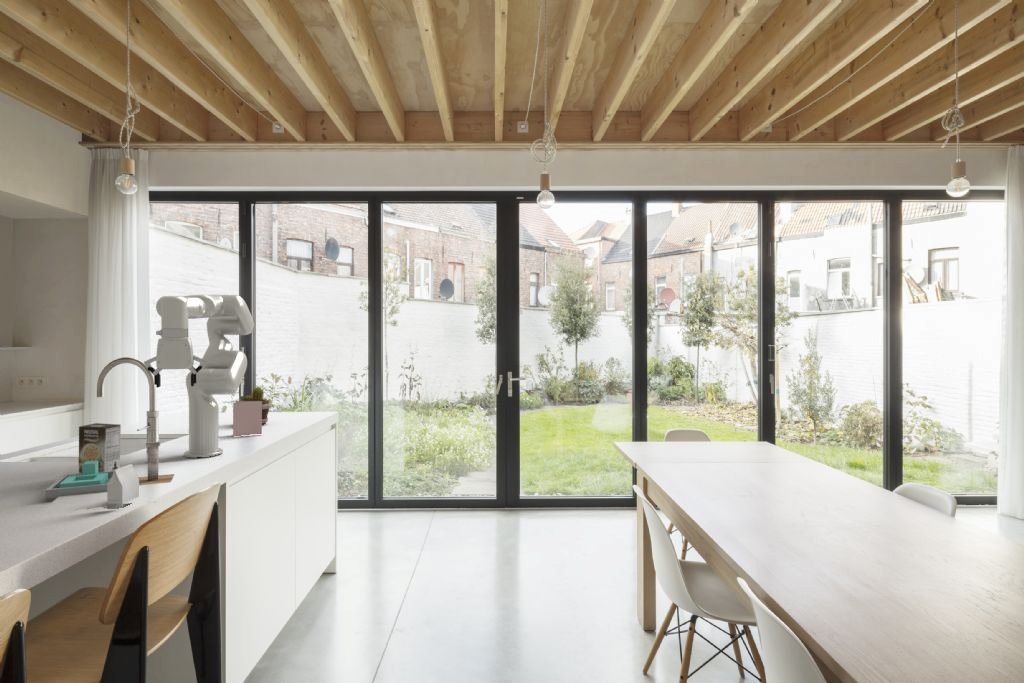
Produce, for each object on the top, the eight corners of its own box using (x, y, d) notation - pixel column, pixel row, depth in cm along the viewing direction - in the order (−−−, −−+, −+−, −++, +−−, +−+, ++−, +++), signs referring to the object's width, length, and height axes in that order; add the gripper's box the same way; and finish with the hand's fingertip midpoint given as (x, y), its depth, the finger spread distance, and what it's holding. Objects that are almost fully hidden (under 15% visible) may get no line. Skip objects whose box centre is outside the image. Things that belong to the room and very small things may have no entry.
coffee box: (76, 478, 167) (77, 426, 167) (94, 473, 174) (94, 422, 174) (104, 479, 166) (104, 427, 166) (121, 474, 173) (121, 423, 173)
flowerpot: (232, 424, 266) (233, 383, 266) (265, 421, 277) (265, 381, 276) (242, 428, 256) (242, 385, 255) (276, 425, 266) (276, 384, 266)
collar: (73, 482, 160) (73, 462, 160) (110, 479, 164) (110, 459, 164) (59, 494, 148) (59, 472, 148) (100, 491, 152) (100, 469, 152)
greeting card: (262, 434, 241) (262, 400, 241) (255, 437, 234) (255, 402, 234) (236, 434, 241) (236, 400, 241) (228, 437, 234) (228, 402, 233)
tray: (64, 485, 160) (64, 474, 160) (122, 480, 166) (122, 470, 166) (45, 501, 145) (45, 490, 145) (109, 495, 151) (109, 484, 151)
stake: (135, 481, 165) (135, 440, 165) (174, 477, 169) (174, 438, 169) (129, 490, 156) (129, 446, 156) (170, 486, 160) (170, 444, 160)
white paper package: (138, 501, 147) (138, 463, 146) (122, 509, 140) (122, 470, 140) (124, 501, 146) (124, 463, 146) (107, 509, 140) (107, 470, 139)
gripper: (141, 334, 172) (142, 388, 173) (204, 334, 179) (204, 386, 180) (145, 333, 179) (146, 386, 179) (206, 333, 186) (206, 384, 187)
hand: (175, 386), depth 180 cm, fingers open, 9 cm apart
